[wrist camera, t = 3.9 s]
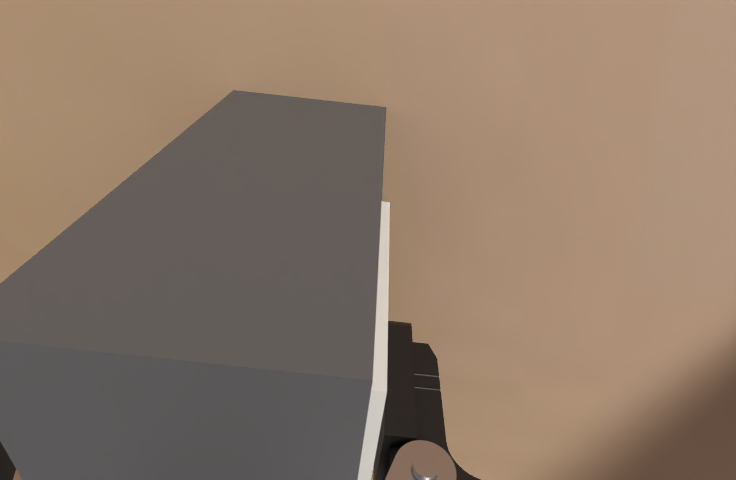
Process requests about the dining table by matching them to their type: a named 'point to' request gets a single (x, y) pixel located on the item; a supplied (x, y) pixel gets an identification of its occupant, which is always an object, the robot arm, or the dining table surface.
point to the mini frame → (212, 309)
